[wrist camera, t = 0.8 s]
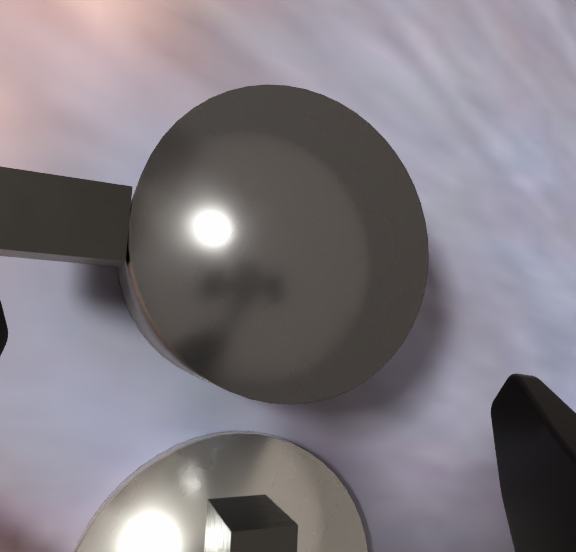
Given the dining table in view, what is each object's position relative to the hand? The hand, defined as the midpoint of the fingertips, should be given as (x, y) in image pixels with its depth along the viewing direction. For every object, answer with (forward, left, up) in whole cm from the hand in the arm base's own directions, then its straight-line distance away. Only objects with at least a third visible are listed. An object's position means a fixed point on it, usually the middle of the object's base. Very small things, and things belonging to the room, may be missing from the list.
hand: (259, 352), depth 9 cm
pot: (+4, -1, -13) cm, 13 cm away
